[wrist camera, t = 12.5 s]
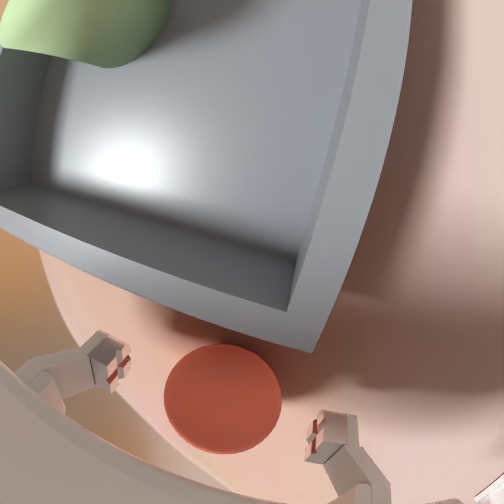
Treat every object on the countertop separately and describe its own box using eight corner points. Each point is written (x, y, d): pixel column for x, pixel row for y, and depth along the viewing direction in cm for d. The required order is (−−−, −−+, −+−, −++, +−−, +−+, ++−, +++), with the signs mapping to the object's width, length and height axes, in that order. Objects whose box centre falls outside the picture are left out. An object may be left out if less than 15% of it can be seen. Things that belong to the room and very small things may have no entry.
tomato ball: (271, 406, 13) (253, 483, 9) (184, 378, 14) (146, 445, 9) (301, 341, 12) (291, 432, 7) (195, 307, 12) (140, 381, 8)
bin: (313, 286, 11) (311, 353, 7) (29, 196, 12) (-24, 212, 9) (391, -53, 5) (408, -103, 1) (96, -47, 6) (56, -68, 3)
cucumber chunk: (153, 67, 8) (51, 29, 4) (77, 71, 9) (-14, 59, 4) (184, -21, 7) (116, -85, 2) (105, -7, 7) (31, -40, 2)
